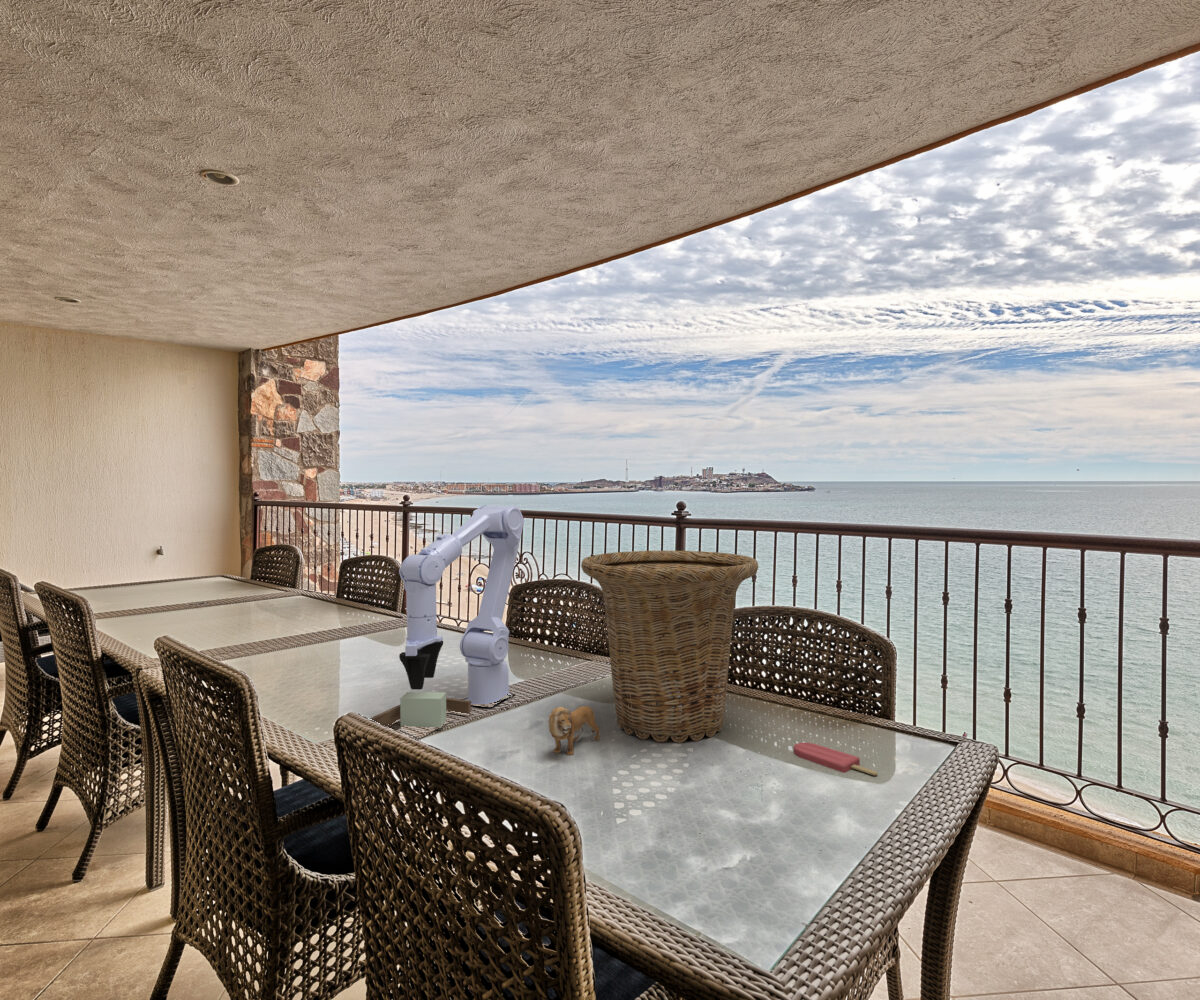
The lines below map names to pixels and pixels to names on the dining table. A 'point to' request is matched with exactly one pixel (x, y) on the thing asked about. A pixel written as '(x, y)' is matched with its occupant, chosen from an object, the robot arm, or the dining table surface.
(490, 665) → the robot arm
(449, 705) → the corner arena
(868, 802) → the dining table surface
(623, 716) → the wicker basket
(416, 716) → the sage block
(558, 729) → the lion figurine
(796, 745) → the popsicle
